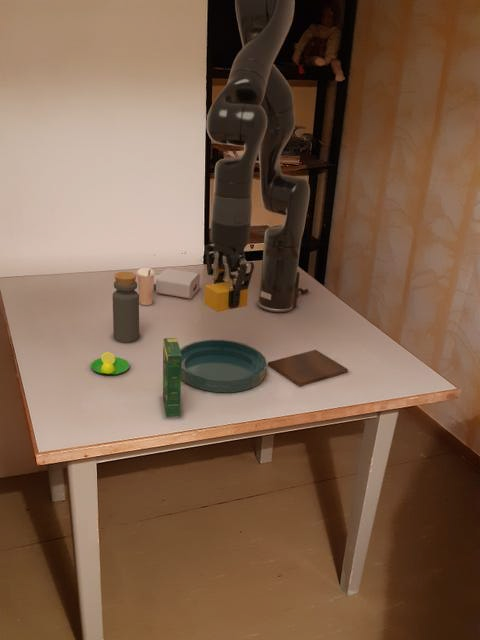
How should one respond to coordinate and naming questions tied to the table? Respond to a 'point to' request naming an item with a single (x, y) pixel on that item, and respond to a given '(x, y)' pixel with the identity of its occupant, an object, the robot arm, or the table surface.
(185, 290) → the charger
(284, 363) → the board
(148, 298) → the milkshake
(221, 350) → the teal plate
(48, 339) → the table surface
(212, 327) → the table surface
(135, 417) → the table surface
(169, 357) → the coffee box
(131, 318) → the bottle
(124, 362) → the lemons on green plate
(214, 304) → the block
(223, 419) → the table surface
